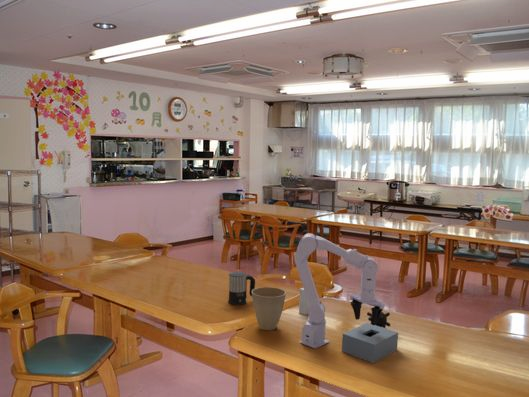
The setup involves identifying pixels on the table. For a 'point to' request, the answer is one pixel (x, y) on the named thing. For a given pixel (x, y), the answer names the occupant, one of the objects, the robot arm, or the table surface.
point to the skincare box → (303, 303)
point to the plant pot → (268, 306)
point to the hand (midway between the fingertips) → (365, 321)
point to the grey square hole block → (369, 342)
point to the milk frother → (239, 287)
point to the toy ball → (380, 319)
